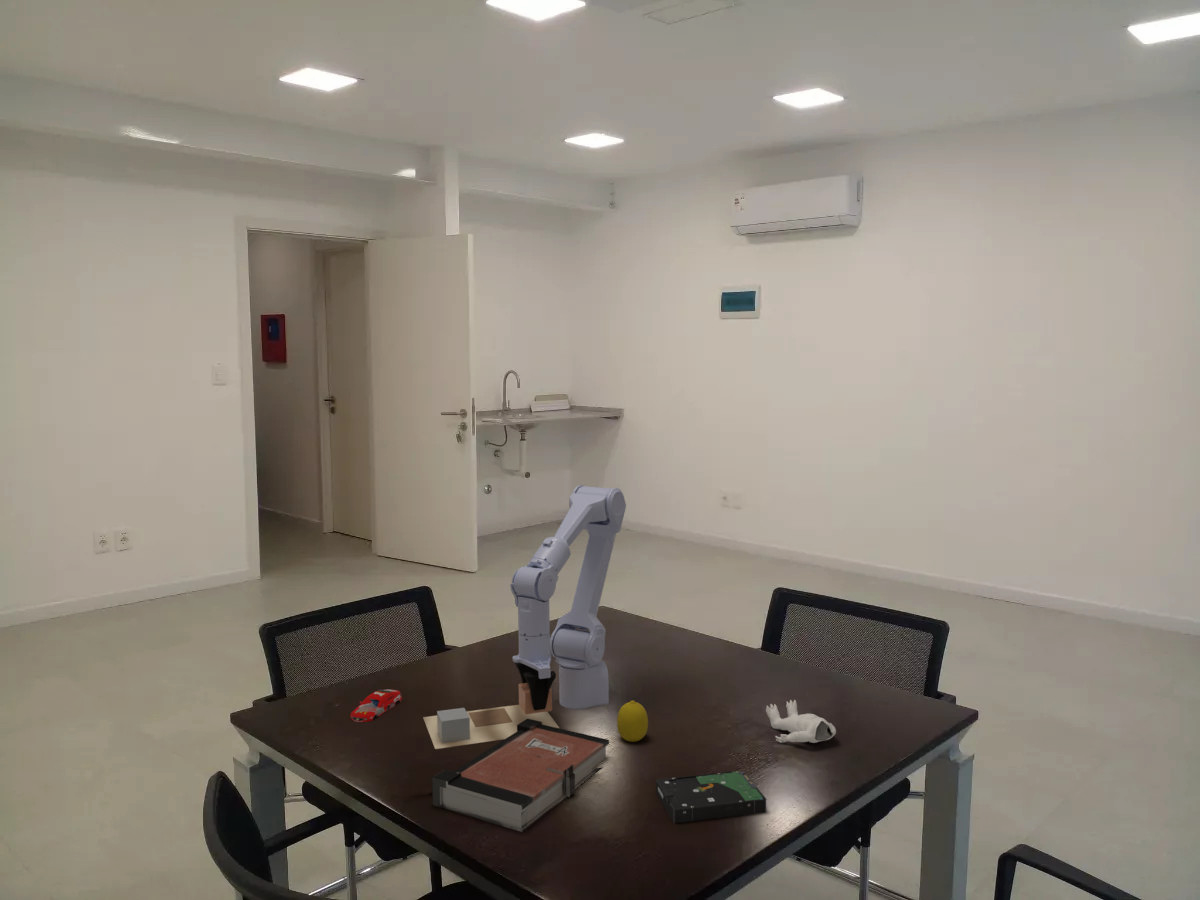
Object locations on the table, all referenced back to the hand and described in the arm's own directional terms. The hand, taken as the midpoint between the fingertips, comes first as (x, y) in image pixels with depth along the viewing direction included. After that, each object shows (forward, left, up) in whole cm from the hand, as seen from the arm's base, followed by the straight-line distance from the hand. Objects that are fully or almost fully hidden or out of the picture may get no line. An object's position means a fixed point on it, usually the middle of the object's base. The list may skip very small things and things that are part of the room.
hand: (535, 703), depth 169 cm
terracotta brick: (0, 0, -1) cm, 1 cm away
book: (+7, +19, -6) cm, 21 cm away
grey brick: (+15, -1, -4) cm, 16 cm away
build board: (+8, -4, -5) cm, 10 cm away
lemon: (-15, +11, -6) cm, 19 cm away
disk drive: (-19, +35, -6) cm, 40 cm away
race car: (+27, -19, -6) cm, 33 cm away
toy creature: (-45, +18, -6) cm, 49 cm away
